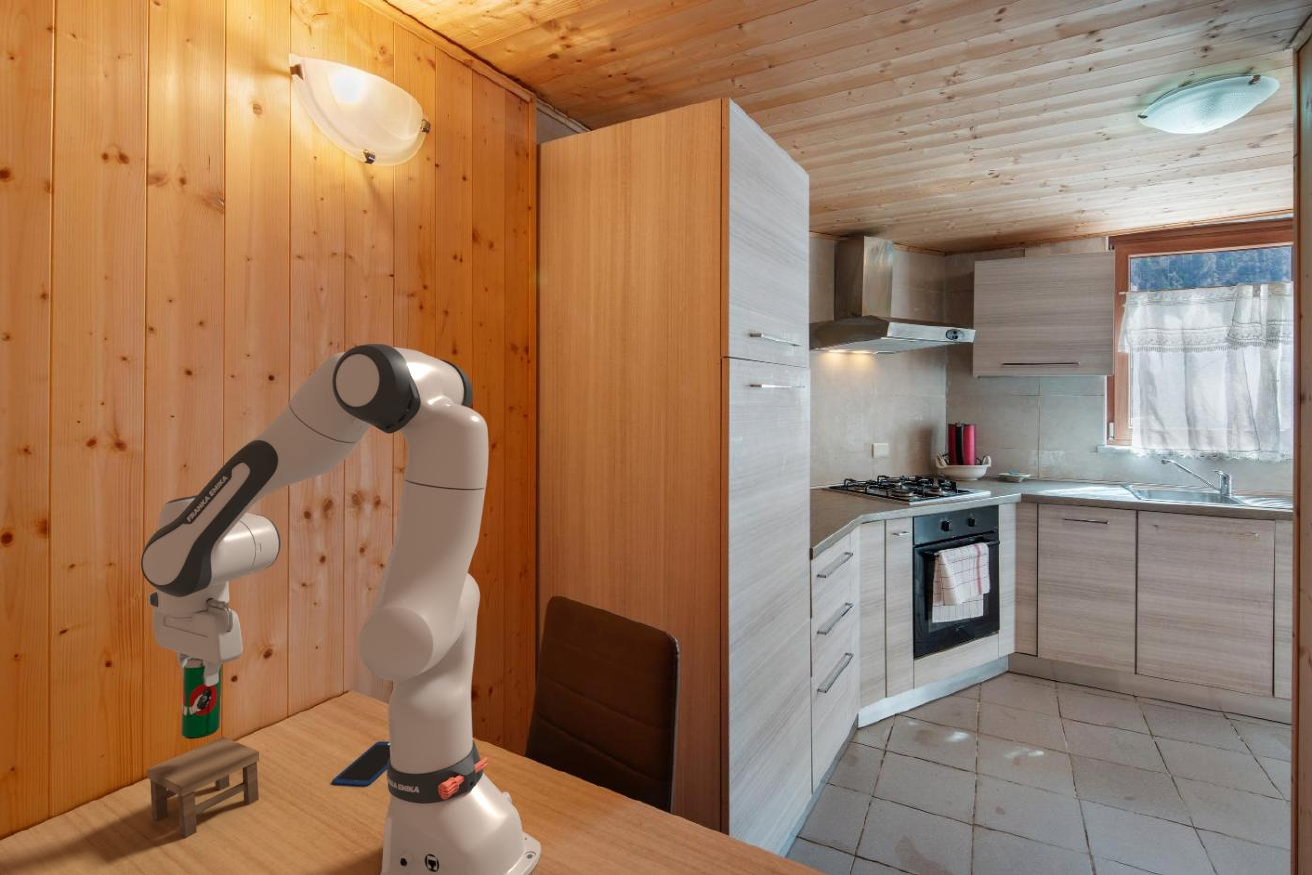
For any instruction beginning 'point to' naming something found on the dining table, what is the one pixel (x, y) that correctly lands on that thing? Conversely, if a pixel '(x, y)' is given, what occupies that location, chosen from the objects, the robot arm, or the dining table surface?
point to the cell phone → (365, 767)
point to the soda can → (199, 702)
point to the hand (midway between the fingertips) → (200, 680)
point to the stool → (202, 779)
